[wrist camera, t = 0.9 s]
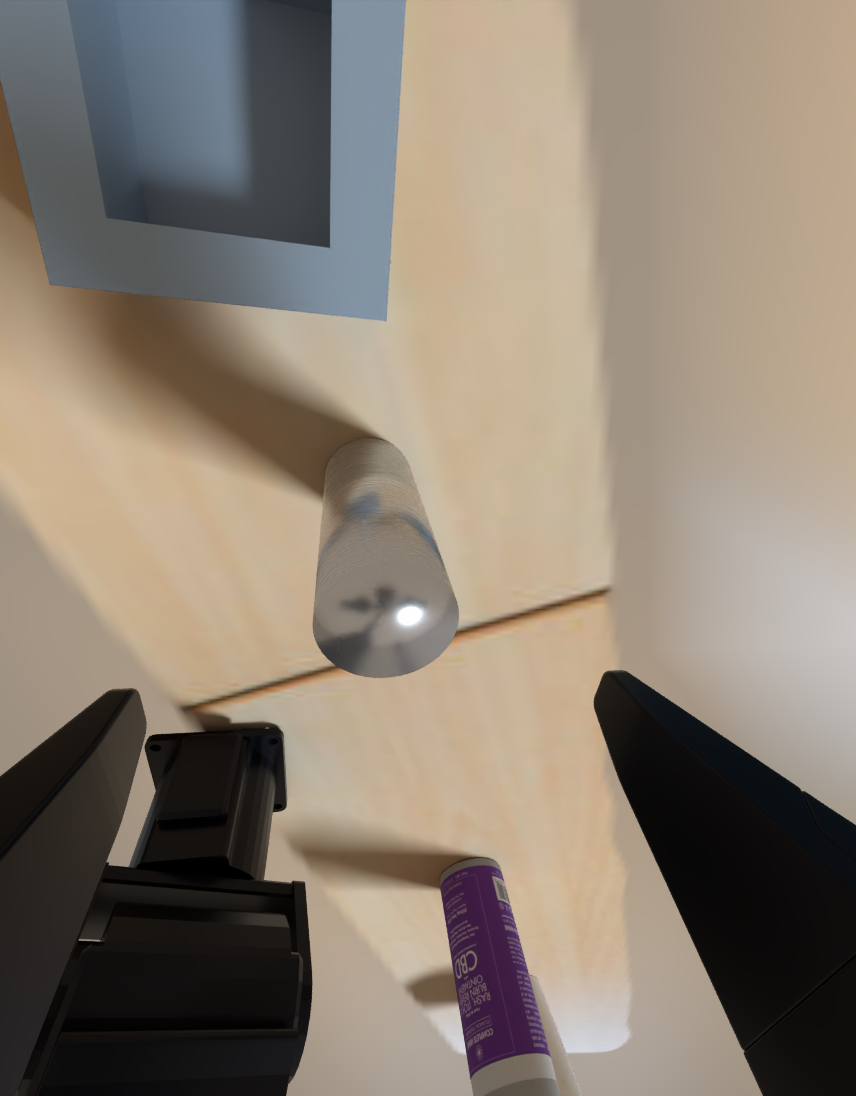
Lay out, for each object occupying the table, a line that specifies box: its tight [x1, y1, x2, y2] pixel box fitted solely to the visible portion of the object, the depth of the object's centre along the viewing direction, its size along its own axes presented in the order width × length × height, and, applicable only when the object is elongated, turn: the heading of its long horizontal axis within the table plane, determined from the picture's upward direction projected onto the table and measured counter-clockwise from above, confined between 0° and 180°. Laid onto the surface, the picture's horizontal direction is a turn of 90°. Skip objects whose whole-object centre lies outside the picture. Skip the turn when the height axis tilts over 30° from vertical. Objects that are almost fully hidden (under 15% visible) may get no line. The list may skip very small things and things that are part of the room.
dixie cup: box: [529, 975, 582, 1096], centre depth 44 cm, size 8×8×10 cm
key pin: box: [313, 438, 459, 678], centre depth 15 cm, size 3×3×9 cm
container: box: [440, 858, 560, 1096], centre depth 29 cm, size 5×5×15 cm
